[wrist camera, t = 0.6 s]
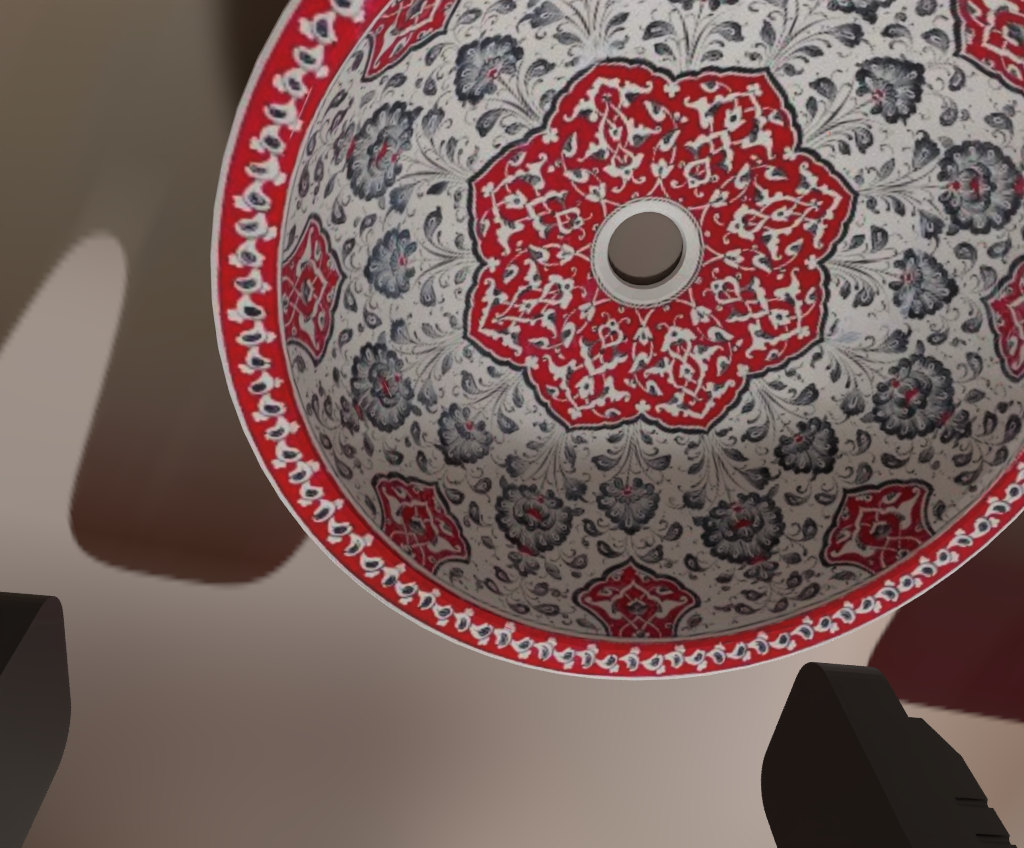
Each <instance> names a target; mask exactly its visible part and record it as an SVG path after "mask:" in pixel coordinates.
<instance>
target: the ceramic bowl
mask: <svg viewBox="0 0 1024 848" xmlns="http://www.w3.org/2000/svg"><path fill="white" fill-rule="evenodd" d="M641 212H657V213H661V214H663V215H665V216H667V217H669V218H670V219H671V220H673V222H674V223H675V224H676V225H677V226H678V228H679V230H680V232H681V235H682V238H683V253H682V256H681V259H680V262H679V263H678V265H677V267H676V268H675V270H674V271H673V272H672V273H671V274H670V275H669V276H668V277H667V278H665V279H663V280H662V281H660V282H657V283H655V284H651V285H634V284H630V283H628V282H625V281H624V280H622V279H621V278H619V277H618V276H617V274H616V273H615V272H614V271H613V269H612V267H611V265H610V262H609V259H608V244H609V241H610V238H611V236H612V234H613V232H614V230H615V229H616V228H617V227H618V226H619V224H620V223H621V222H623V221H624V220H625V219H627V218H628V217H630V216H632V215H634V214H637V213H641ZM210 259H211V289H212V305H213V312H214V320H215V327H216V334H217V341H218V348H219V352H220V356H221V360H222V365H223V369H224V373H225V377H226V381H227V385H228V389H229V392H230V395H231V398H232V400H233V403H234V406H235V409H236V411H237V414H238V417H239V420H240V423H241V425H242V428H243V431H244V433H245V435H246V437H247V439H248V441H249V443H250V445H251V447H252V449H253V451H254V454H255V456H256V458H257V460H258V462H259V464H260V466H261V468H262V469H263V471H264V473H265V474H266V476H267V478H268V479H269V481H270V482H271V484H272V486H273V487H274V489H275V491H276V492H277V494H278V496H279V497H280V499H281V500H282V502H283V503H284V505H285V506H286V507H287V508H288V510H289V511H290V512H291V514H292V515H293V516H294V518H295V519H296V520H297V522H298V523H299V524H300V526H301V527H302V528H303V529H304V531H305V532H306V533H307V534H308V535H309V537H310V538H311V539H312V540H313V541H314V542H315V543H316V544H317V545H318V546H319V547H320V548H321V549H322V551H323V552H324V553H325V554H326V555H327V556H328V557H329V558H330V559H331V560H332V561H333V562H334V563H335V564H336V565H337V566H338V567H340V568H341V569H342V570H343V571H344V572H345V573H347V575H349V576H350V577H351V578H352V579H353V580H354V581H355V582H356V583H358V584H359V585H360V586H361V587H362V588H364V589H365V590H367V591H368V592H369V593H371V594H372V595H373V596H375V597H376V598H378V599H379V600H380V601H382V602H383V603H384V604H386V605H387V606H388V607H390V608H391V609H393V610H395V611H396V612H398V613H400V614H401V615H403V616H404V617H406V618H408V619H409V620H411V621H413V622H414V623H416V624H418V625H419V626H421V627H423V628H425V629H427V630H429V631H431V632H433V633H435V634H437V635H439V636H441V637H443V638H445V639H448V640H450V641H452V642H454V643H456V644H458V645H461V646H464V647H466V648H469V649H472V650H474V651H477V652H479V653H482V654H484V655H487V656H490V657H493V658H496V659H500V660H503V661H507V662H510V663H514V664H517V665H521V666H524V667H529V668H533V669H538V670H543V671H548V672H553V673H558V674H564V675H572V676H580V677H588V678H596V679H619V680H656V679H675V678H685V677H694V676H704V675H711V674H716V673H722V672H727V671H733V670H739V669H744V668H748V667H752V666H756V665H760V664H764V663H768V662H772V661H775V660H779V659H783V658H785V657H789V656H792V655H795V654H797V653H801V652H804V651H807V650H810V649H812V648H816V647H818V646H821V645H823V644H825V643H828V642H830V641H832V640H835V639H838V638H840V637H842V636H845V635H847V634H850V633H852V632H854V631H856V630H858V629H860V628H862V627H864V626H866V625H868V624H870V623H872V622H874V621H876V620H878V619H880V618H882V617H884V616H886V615H888V614H890V613H891V612H893V611H895V610H897V609H898V608H900V607H902V606H903V605H905V604H907V603H908V602H910V601H912V600H913V599H915V598H917V597H918V596H920V595H922V594H923V593H925V592H926V591H928V590H929V589H930V588H932V587H933V586H935V585H936V584H938V583H939V582H941V581H942V580H943V579H945V578H946V577H948V576H949V575H951V574H952V573H954V572H955V571H956V570H957V569H959V568H960V567H961V566H962V565H964V564H965V563H966V562H967V561H969V560H970V559H971V558H972V557H974V556H975V555H976V554H977V553H978V552H980V551H981V550H982V549H983V548H985V547H986V546H987V545H988V544H989V543H990V542H991V541H992V540H993V539H995V538H996V537H997V536H998V535H999V534H1000V533H1001V532H1002V531H1003V530H1004V529H1005V528H1006V527H1007V526H1008V525H1009V524H1011V523H1012V522H1013V521H1014V520H1015V519H1016V518H1017V517H1018V516H1019V515H1020V514H1021V512H1022V511H1023V510H1024V0H289V2H288V3H287V5H286V6H285V8H284V9H283V11H282V13H281V15H280V16H279V18H278V20H277V22H276V24H275V26H274V28H273V30H272V31H271V33H270V35H269V37H268V39H267V41H266V43H265V44H264V46H263V48H262V50H261V52H260V54H259V56H258V57H257V60H256V62H255V65H254V67H253V70H252V72H251V74H250V77H249V79H248V82H247V84H246V87H245V89H244V92H243V94H242V97H241V99H240V101H239V104H238V106H237V109H236V113H235V116H234V120H233V123H232V127H231V130H230V133H229V137H228V140H227V144H226V147H225V151H224V154H223V158H222V163H221V169H220V175H219V180H218V186H217V191H216V197H215V202H214V211H213V224H212V238H211V252H210Z"/></svg>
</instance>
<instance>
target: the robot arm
mask: <svg viewBox="0 0 1024 848" xmlns="http://www.w3.org/2000/svg"><path fill="white" fill-rule="evenodd" d="M70 717H71V698H70V687H69V676H68V664H67V652H66V642H65V629H64V617H63V609H62V605H61V603H60V600H59V599H58V598H57V597H55V596H44V595H33V594H20V593H9V592H0V848H21V847H22V845H23V843H24V841H25V839H26V837H27V834H28V832H29V830H30V828H31V826H32V823H33V821H34V819H35V817H36V815H37V813H38V810H39V808H40V806H41V804H42V802H43V800H44V797H45V795H46V793H47V791H48V789H49V787H50V784H51V782H52V780H53V778H54V776H55V774H56V771H57V769H58V767H59V764H60V762H61V759H62V756H63V752H64V749H65V746H66V742H67V737H68V732H69V726H70ZM761 791H762V800H763V806H764V810H765V813H766V817H767V820H768V822H769V825H770V828H771V831H772V834H773V837H774V840H775V842H776V845H777V848H1017V847H1016V845H1011V844H1010V842H1009V836H1010V835H1009V834H1008V832H1007V830H1006V829H1005V827H1004V825H1003V824H1002V822H1001V820H1000V819H999V817H998V816H997V814H996V812H995V811H994V809H993V808H989V807H988V805H987V800H988V799H987V797H986V796H985V794H984V792H983V791H982V789H981V788H980V786H979V785H978V783H977V781H976V779H975V778H974V776H973V774H972V773H971V771H970V769H969V768H968V766H967V765H966V763H965V761H964V760H963V758H962V756H961V755H960V754H959V753H957V752H956V751H955V750H954V749H953V748H952V747H951V746H950V745H949V744H948V743H947V742H946V741H945V740H944V739H943V738H942V737H941V736H940V735H939V734H938V733H937V732H936V731H935V730H934V729H932V728H931V727H930V726H929V725H928V724H927V723H926V722H925V721H924V720H923V719H922V718H913V717H908V715H907V714H906V712H905V710H904V709H903V707H902V705H901V703H900V701H899V700H898V698H897V696H896V694H895V693H894V691H893V689H892V687H891V686H890V684H889V682H888V680H887V679H886V677H885V676H884V675H883V674H882V673H881V672H880V671H879V670H878V669H876V668H873V667H866V666H854V665H841V664H829V663H818V662H809V663H807V664H805V665H804V666H803V667H802V668H801V670H800V671H799V673H798V675H797V677H796V679H795V682H794V684H793V687H792V689H791V692H790V694H789V697H788V699H787V702H786V704H785V706H784V709H783V711H782V714H781V716H780V719H779V721H778V724H777V726H776V729H775V731H774V734H773V736H772V738H771V741H770V743H769V746H768V749H767V751H766V754H765V757H764V760H763V765H762V774H761Z"/></svg>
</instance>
